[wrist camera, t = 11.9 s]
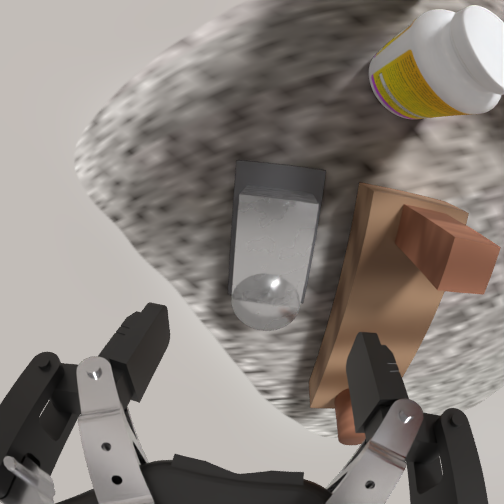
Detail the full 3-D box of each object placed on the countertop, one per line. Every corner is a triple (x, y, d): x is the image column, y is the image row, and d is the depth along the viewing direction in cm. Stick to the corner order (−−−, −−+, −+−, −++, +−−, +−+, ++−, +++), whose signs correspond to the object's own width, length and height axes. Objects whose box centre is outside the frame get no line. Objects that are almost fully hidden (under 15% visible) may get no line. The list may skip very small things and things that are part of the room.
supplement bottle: (426, 132, 18) (534, 140, 6) (359, 101, 18) (440, 64, 7) (438, 69, 16) (534, 41, 4) (373, 36, 16) (443, -34, 4)
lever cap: (247, 185, 21) (239, 194, 18) (312, 193, 21) (318, 204, 17) (237, 299, 26) (229, 325, 22) (292, 307, 25) (293, 334, 22)
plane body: (359, 182, 21) (418, 218, 11) (445, 201, 20) (523, 245, 10) (308, 382, 30) (310, 462, 20) (376, 384, 29) (393, 456, 19)
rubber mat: (237, 160, 21) (236, 160, 21) (324, 170, 21) (325, 171, 20) (228, 290, 26) (227, 294, 25) (302, 300, 26) (303, 303, 25)
